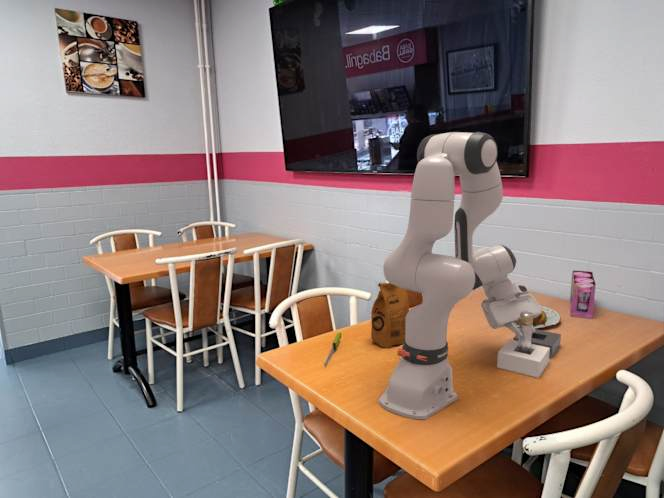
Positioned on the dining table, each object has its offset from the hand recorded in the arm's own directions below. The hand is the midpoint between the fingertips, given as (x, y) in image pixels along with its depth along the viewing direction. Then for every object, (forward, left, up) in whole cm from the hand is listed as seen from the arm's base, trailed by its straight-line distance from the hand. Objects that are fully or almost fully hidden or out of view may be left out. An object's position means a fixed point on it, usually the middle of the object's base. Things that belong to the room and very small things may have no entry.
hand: (526, 334), depth 141 cm
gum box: (+66, -4, -10) cm, 67 cm away
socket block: (+16, +1, -10) cm, 19 cm away
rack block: (0, +1, -10) cm, 10 cm away
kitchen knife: (-27, +54, -10) cm, 61 cm away
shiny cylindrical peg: (0, +1, -8) cm, 8 cm away
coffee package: (-7, +44, -10) cm, 45 cm away
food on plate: (+41, +11, -11) cm, 44 cm away
